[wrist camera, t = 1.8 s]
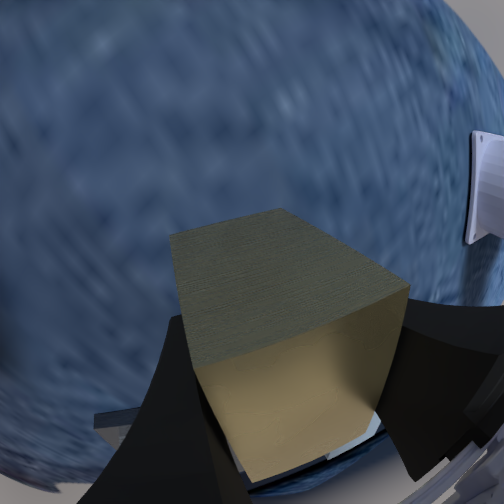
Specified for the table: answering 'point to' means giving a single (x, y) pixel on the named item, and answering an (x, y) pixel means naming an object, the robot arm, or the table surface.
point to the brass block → (286, 335)
